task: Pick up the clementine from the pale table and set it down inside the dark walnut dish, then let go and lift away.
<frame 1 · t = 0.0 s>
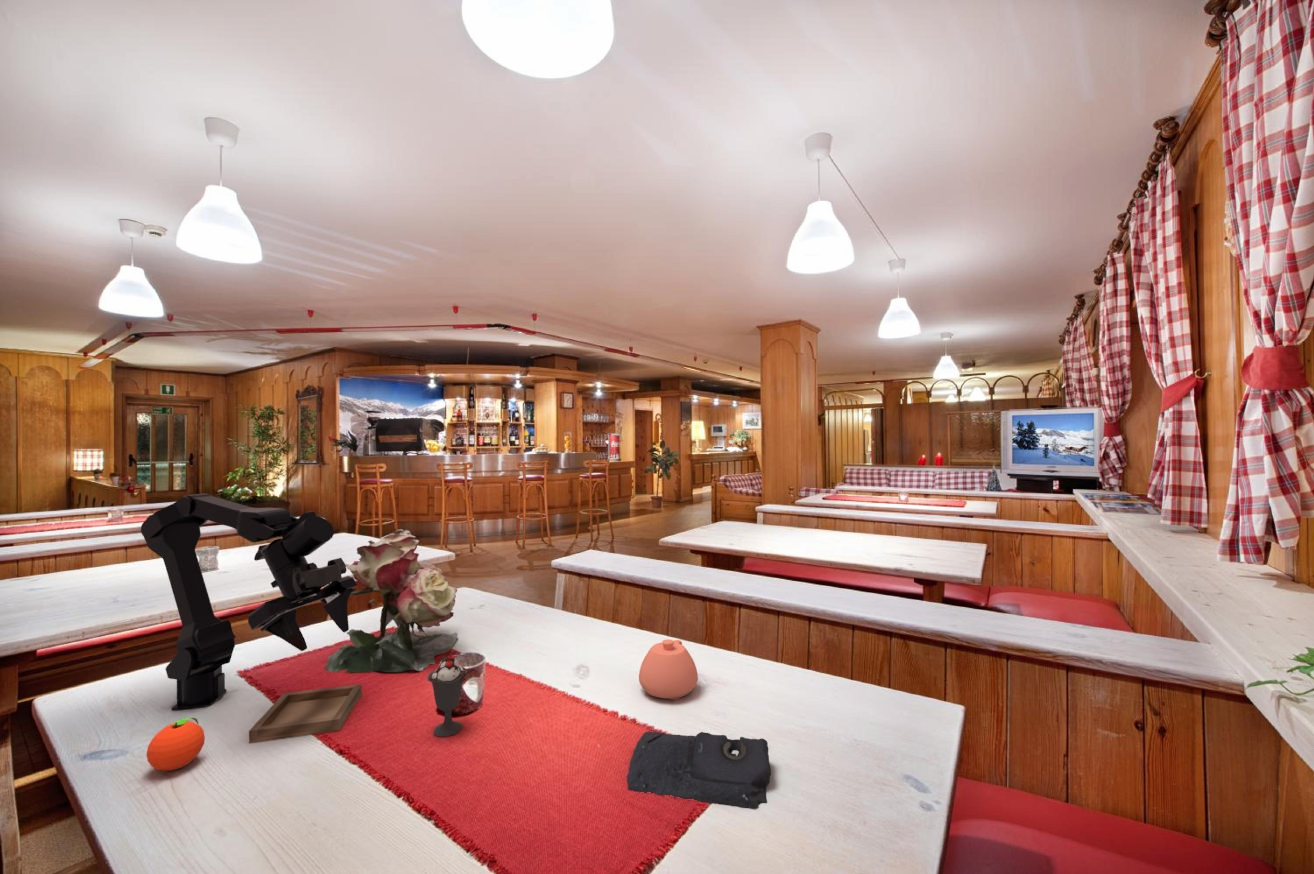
hand: (326, 640, 98), 15 cm above the table, fingers open, 9 cm apart
sundae: (448, 730, 94), on the table
walnut dish: (310, 716, 99), on the table
rose bouquet: (404, 651, 130), on the table
clementine: (179, 766, 85), on the table
sugar bowl: (669, 689, 109), on the table
black grommet pouch: (699, 772, 83), on the table
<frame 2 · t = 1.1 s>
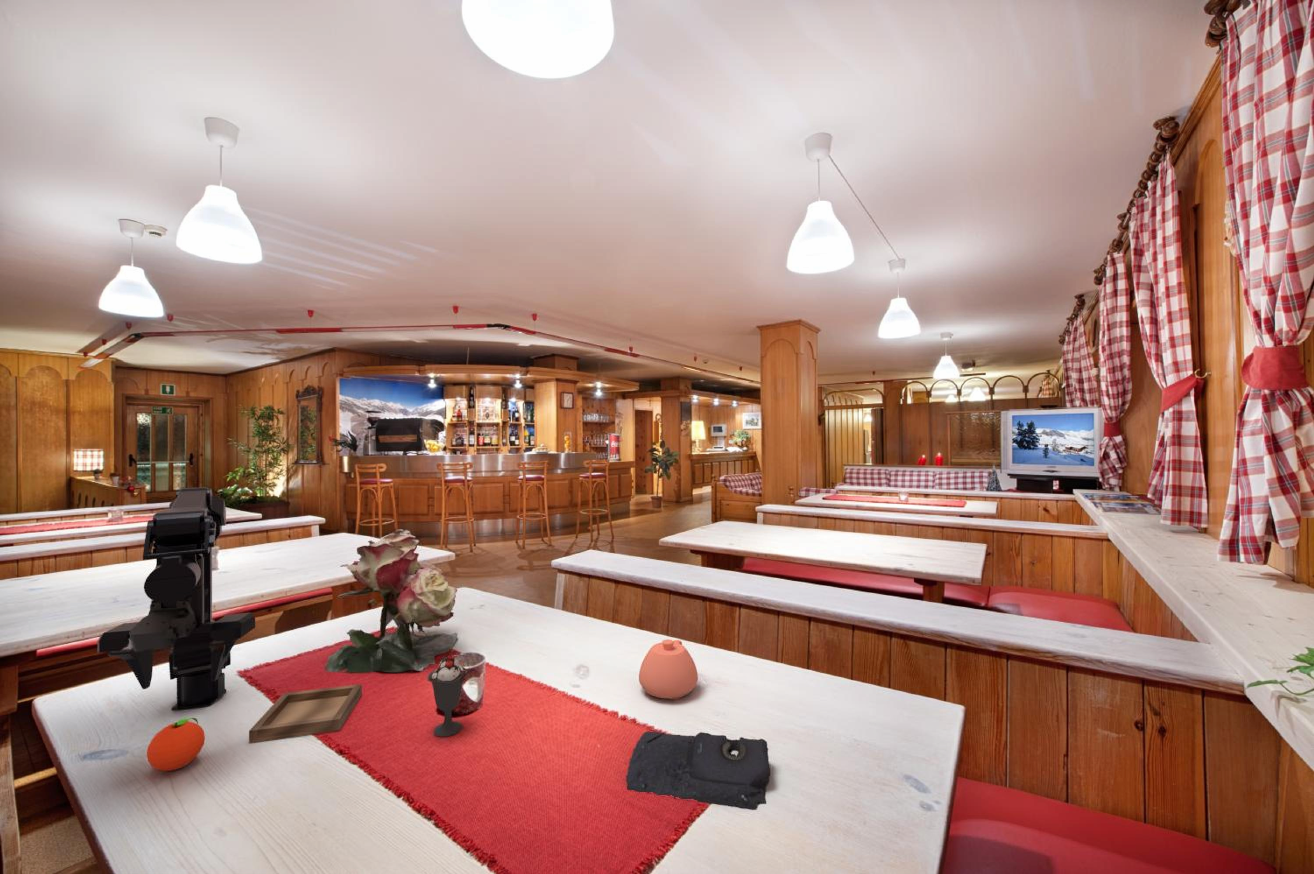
hand: (181, 684, 85), 13 cm above the table, fingers open, 9 cm apart
nothing on the table moved.
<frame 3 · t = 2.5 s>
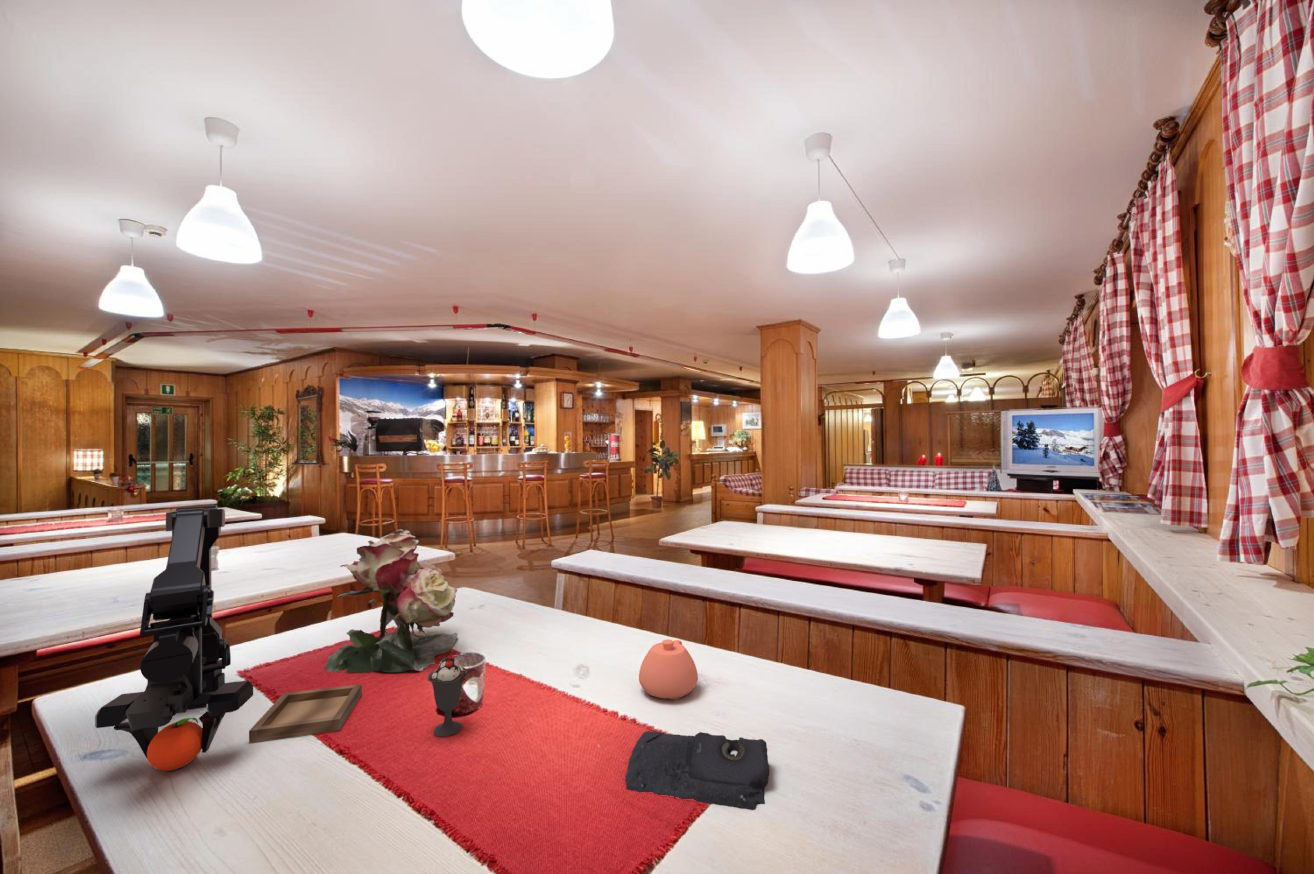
hand: (178, 755, 85), 2 cm above the table, fingers closed on clementine, 7 cm apart
clementine: (179, 765, 85), on the table, touching gripper
everything else where it was.
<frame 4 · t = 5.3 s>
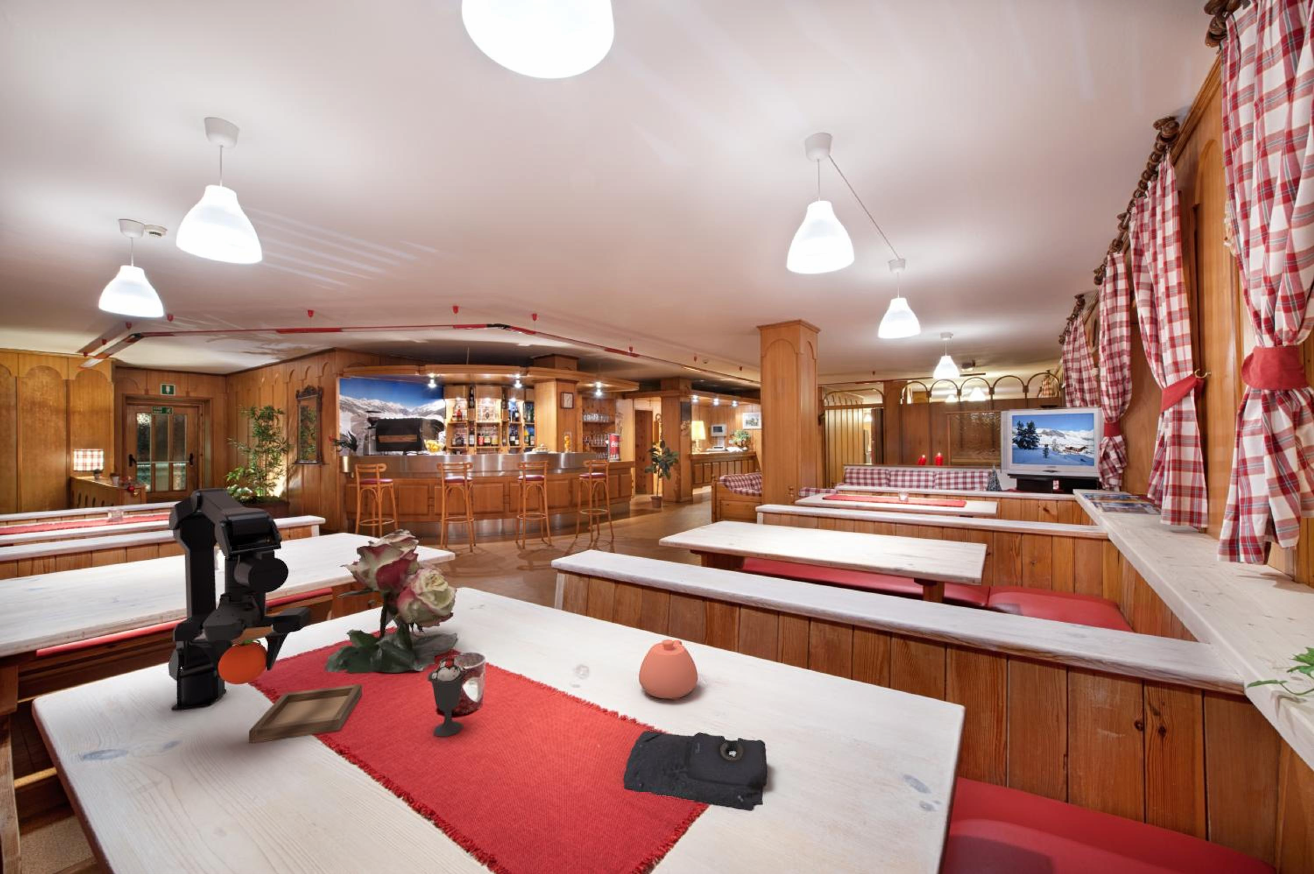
hand: (245, 672, 92), 12 cm above the table, fingers closed on clementine, 7 cm apart
clementine: (246, 682, 92), point 10 cm above the table, touching gripper
everything else where it was.
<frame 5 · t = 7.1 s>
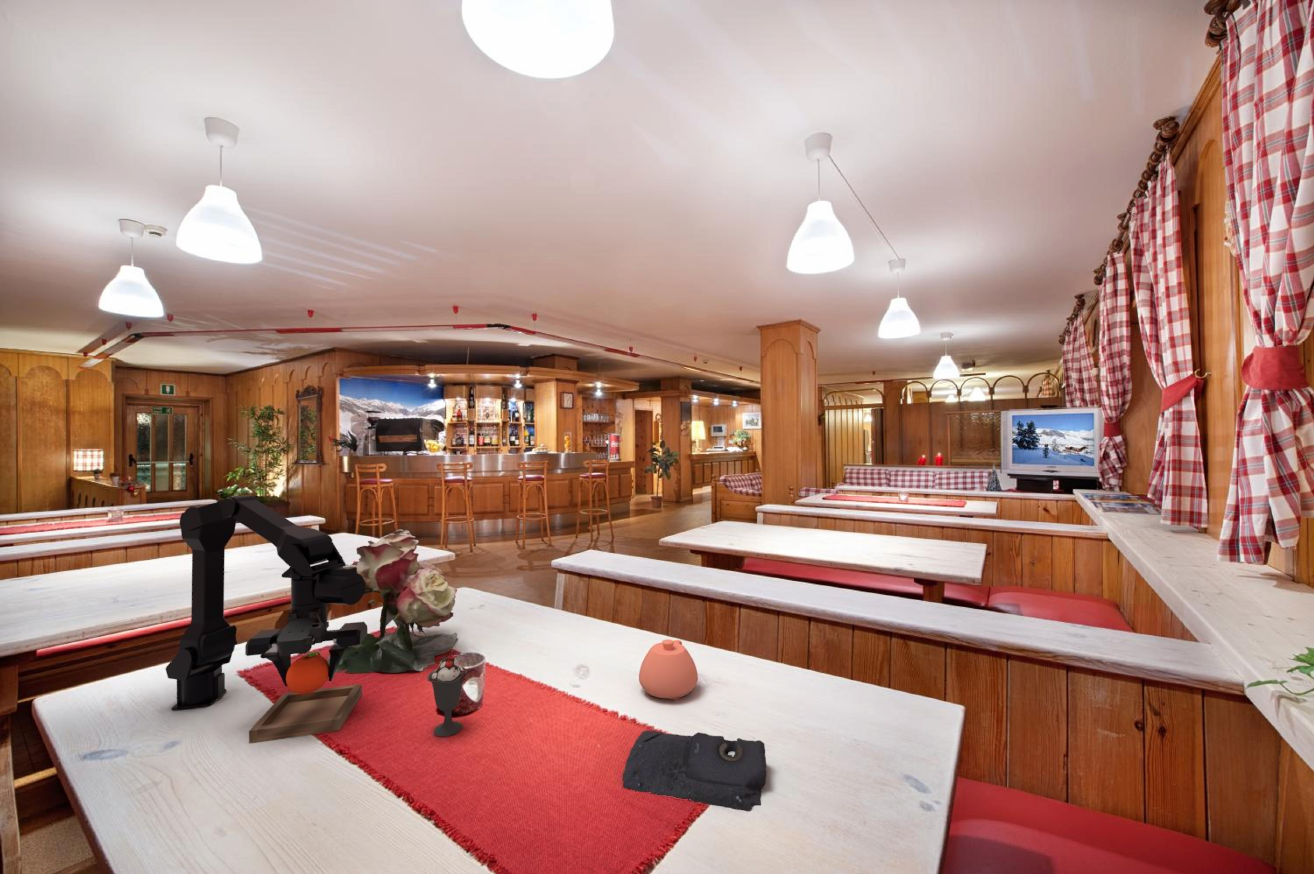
hand: (309, 682, 99), 6 cm above the table, fingers closed on clementine, 7 cm apart
clementine: (309, 691, 99), point 5 cm above the table, touching gripper
everything else where it was.
when the fingers open (4 cm above the table, at t = 8.2 s): clementine drops 1 cm, resting on walnut dish.
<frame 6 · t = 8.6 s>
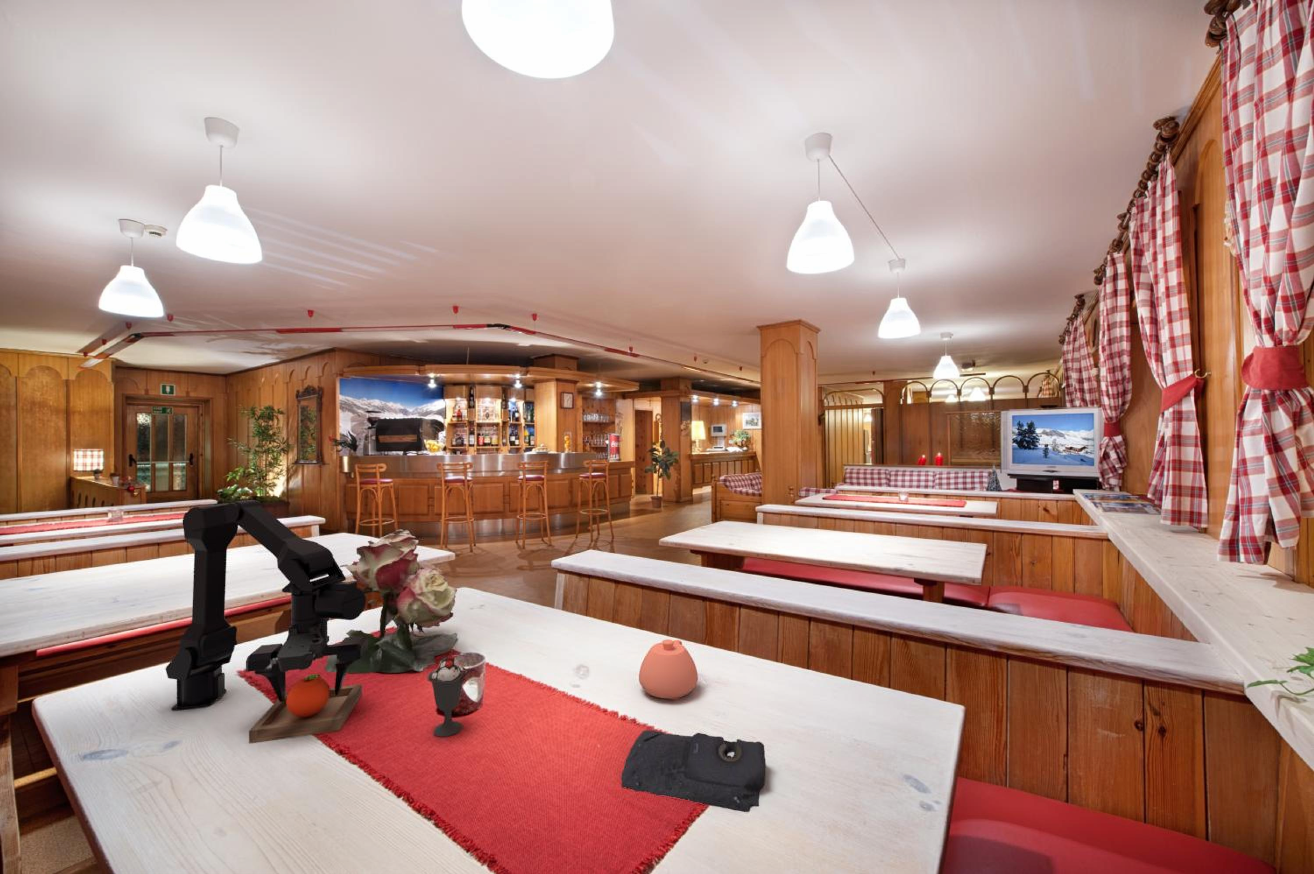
hand: (310, 697, 99), 4 cm above the table, fingers open, 9 cm apart
clementine: (310, 714, 99), resting on walnut dish
everything else where it was.
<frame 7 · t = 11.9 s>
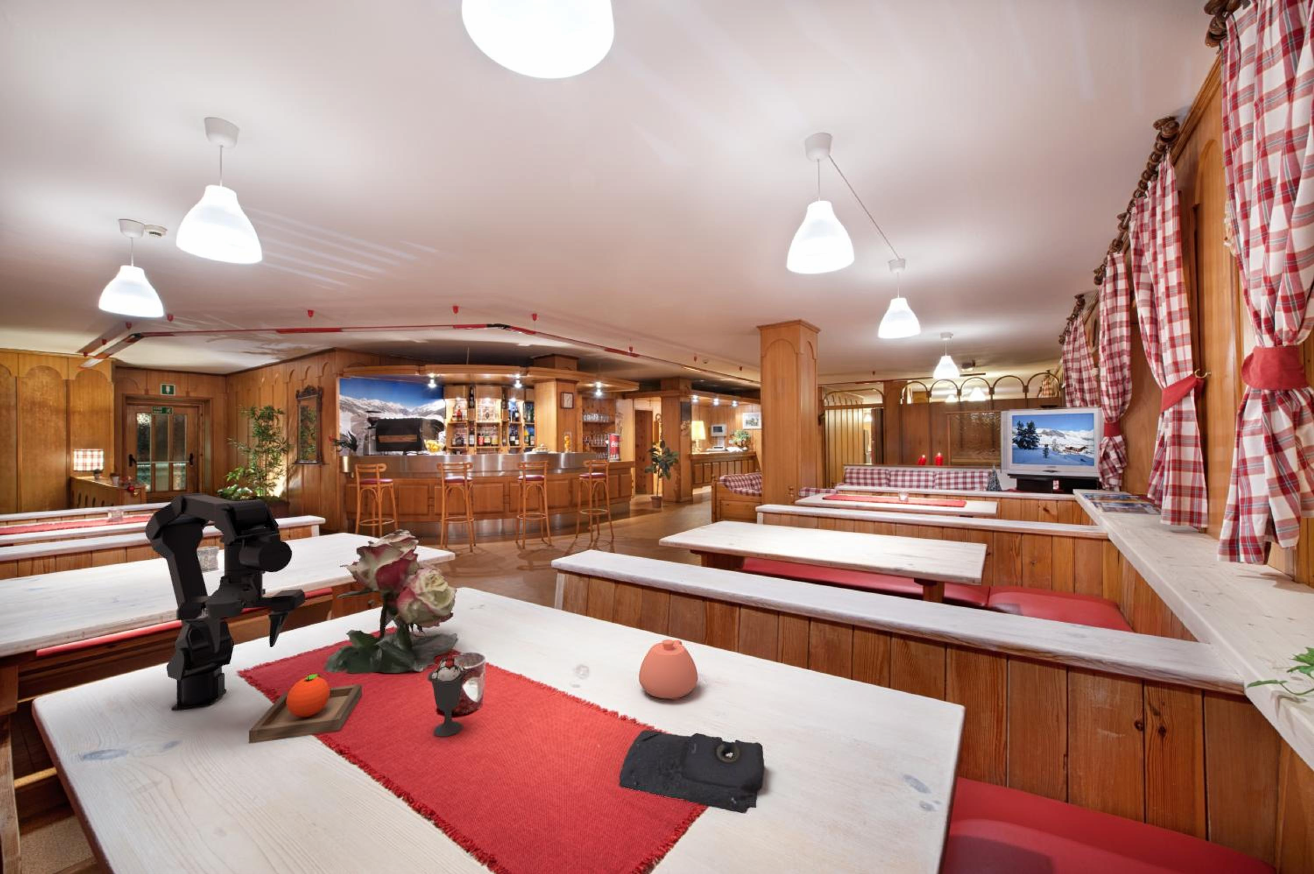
hand: (244, 649, 99), 13 cm above the table, fingers open, 9 cm apart
at the end: clementine inside the target area on the walnut dish (0.0 cm from its centre), point 0.4 cm above the walnut dish's base; clementine touching walnut dish; the gripper is holding nothing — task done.
